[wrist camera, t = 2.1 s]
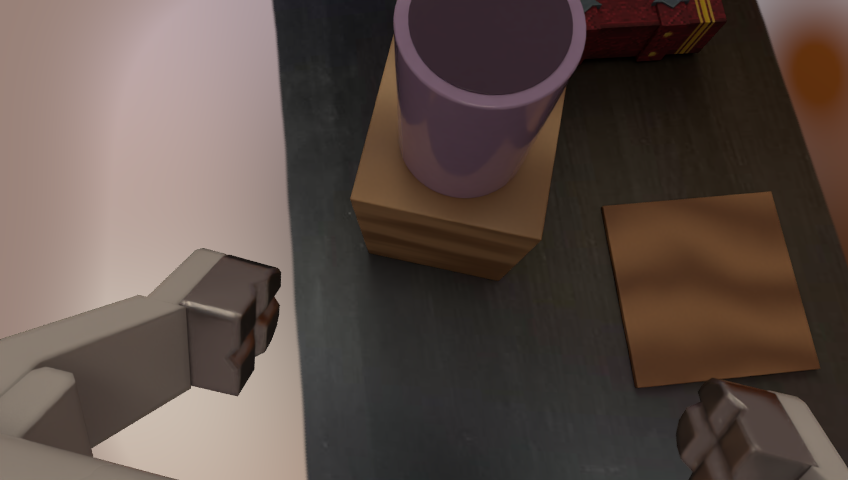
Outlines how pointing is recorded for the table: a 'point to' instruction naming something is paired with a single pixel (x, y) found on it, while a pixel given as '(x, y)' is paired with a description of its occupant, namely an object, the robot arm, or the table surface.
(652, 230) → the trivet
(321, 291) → the table surface
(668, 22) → the decorative book
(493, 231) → the block
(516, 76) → the lavender cup
